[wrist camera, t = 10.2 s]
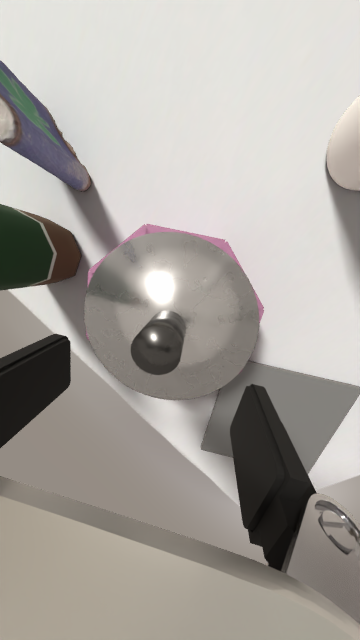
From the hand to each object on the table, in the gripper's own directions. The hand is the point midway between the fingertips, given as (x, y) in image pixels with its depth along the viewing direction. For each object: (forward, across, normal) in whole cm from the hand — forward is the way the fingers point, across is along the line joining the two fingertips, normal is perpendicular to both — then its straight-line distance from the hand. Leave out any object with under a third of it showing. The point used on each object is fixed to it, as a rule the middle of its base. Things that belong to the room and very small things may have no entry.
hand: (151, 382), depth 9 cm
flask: (+15, +17, -15) cm, 27 cm away
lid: (+9, +1, 0) cm, 9 cm away
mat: (+16, -17, +14) cm, 27 cm away
